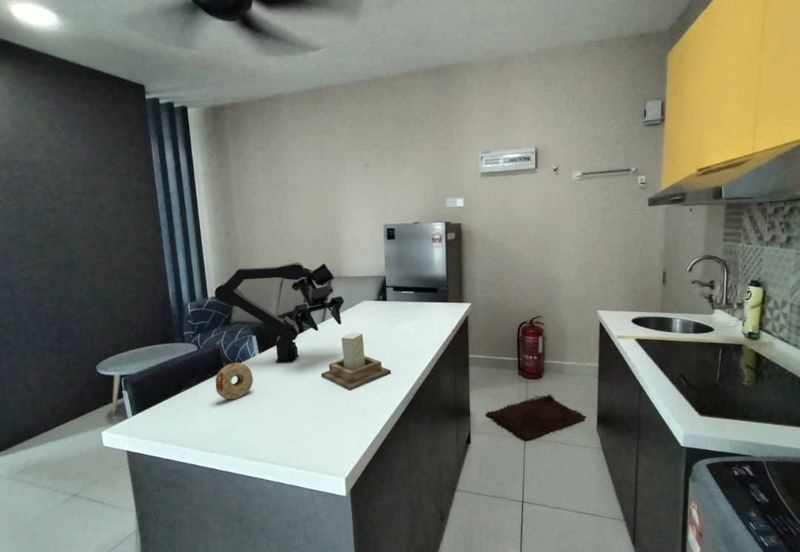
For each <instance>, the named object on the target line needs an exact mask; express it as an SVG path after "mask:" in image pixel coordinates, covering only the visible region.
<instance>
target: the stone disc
mask: <svg viewBox="0 0 800 552" xmlns="http://www.w3.org/2000/svg"><path fill="white" fill-rule="evenodd" d="M234 377H236V378H237V380H236V382H235V383H232V379H234ZM253 383H254V377H253V374H252V370H251V369H250V368H249V366H247V365H246V364H245V363H242V362H233V363H229V364H227V365H225V366H224V367H222V368H221V369H220V370H219V371H218V372H217V374H216V377H215V390H216V393H217V394H218V395H219V397H222V398H224V399H226V400H235V399H238V398H241V397H242V396H244V395H245V394H247V393H248V392H249V391H250V389H251V388H252V385H253Z"/></svg>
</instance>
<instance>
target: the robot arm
mask: <svg viewBox="0 0 800 552" xmlns="http://www.w3.org/2000/svg"><path fill="white" fill-rule="evenodd" d="M273 278H274V279H276V278H279V279H285V280H291V281H293V280H294V281H293V283H292V285H291V288H292V289H293V290H294V291H295V292H297V291H299V292H300V294H301V295H302V297H303V300H302V302H303V303H301V304H297V305H295V306H294V308H293V311H292V312H291V317H292V319H291V318H290V317H289V316H287V315H286V316H285V317H284V318H281V317H279V316H277V315H275V314H274V313H273V312H271V311H269V310H267V309H266V308H265V307H263V306H261V305H260V304H258V303H256V302H255V301H253V300H252V299H250V298H248V297H246V296H245V294H244V293H243V292H242V291H241V290H240V289H239V287H240V286H241V284H242V283H243V282H244V281H245V280H257V279H273ZM334 279H335V276H334V274H333V273H332V271H331V270H330V269H329V268H328V267H327V265H326V263H322V264H320V266H318V267H317V268H315V269H313V270H312V269H309V268H306V267H304V265H303V263H300V262H292V263H287V264H284V265H279V266H268V267H267V266H266V267H264V266H263V267H249V268H248V267H247V268H246V267H241V268H239V269H237V270H236V271H235V273H234V274H233V275H232V276H231V277H230V278H229V279H228V280H227V281H226V282H225V283H222V284H220V285H219V286H217V287H216V289H214V296H215V299H216V300H217V301H219V302H221V303H224V304H227V305H230V306H233V307H237V308H239V309H240V310H242V311H244V312H246V313H247V314H249V315H250V316H252V317H254V318H256V319H258V320H259V321H260V322H262V323H263V324H265V325H266V326H268V327H270V328H271V329H272V330H273V331H275V334H277V335H278V336H277V339H276V342H275V348H276V354H277V355H276V356H277V359H276V360H275V363H293V362H294V361H296V360H297V359H298V358H299V357H300V356H299V355H300V354H299V352H298V346H297V345H296V341H295V340H296V339H297V337H298V334H299V330H300V329H299V325H298V324H297V323H296V321H297V322H299V323H300V322H301V323H303V324H304V325H307V326H309V328H311V329H313V330H314V331H316V332H318V331H319V327H318V325H317V323H316V321H315V320H314V318H313V316H312V313H313V312H317V311H322V310H327V309H328V310H329V312H330V315H331V316H332V318H333V319H334V320H335V322H336V323H337V324H338V325H340V326H341V324H342V319H341V313H340V310H341V308H342V306H343V305H344V302H345V299H344V298H343V297H342V296H341V295H339V296H335V297H334V296H333V297H331V298H330V300H329V301H328V302H326V301H327V300H328V298H327V297H328V296H331V294H332V293H333V292H334V289H333V287H332V284H331V283H330V282H332V281H333V280H334ZM317 286H320V287H317Z"/></svg>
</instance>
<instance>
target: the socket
mask: <svg viewBox="0 0 800 552" xmlns="http://www.w3.org/2000/svg"><path fill="white" fill-rule="evenodd" d="M364 358H365V366H363V367H360V368H358V369H355V370H352V371H351V370H349V369H346V368H344V359H343V358H342V359H341V360H337V361H334V362H332V363H328V367H329V370H327V371H324V372H322V373H320V376H321V377H322V378H324V379H326V380H329V381H330V382H332V383H334V384H336V385H338V386H340V387H342V388H344V389H346V390H348V391H352V390H354V389H357V388H358V387H361V386H364V385H366V384H369V383H371V382H373V381H375V380H376V381H377V380H378V379H380V378H383V377H386V376H388V375H390V374H391V373H392V371H391V369H388V368H386V367H383V366H382V361H380V360H378V359H375V358H371V357H369V356H366V355H364Z"/></svg>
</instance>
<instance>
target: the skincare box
mask: <svg viewBox="0 0 800 552" xmlns="http://www.w3.org/2000/svg"><path fill="white" fill-rule="evenodd" d="M341 346H342V357H343V358H342V360H343V359H344V368H346V369H349V370H351V371H352V370H355V369H358V368H360V367H363V366H365V358H364V356H365V349H364V337H363V332H362V333H361V332H350V333H348V334H346V335H344V336H342V337H341Z"/></svg>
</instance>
